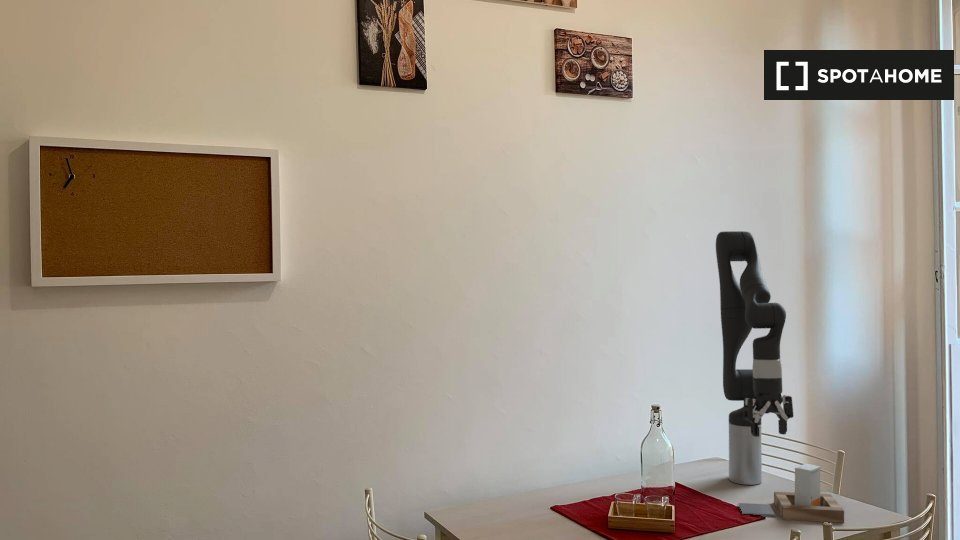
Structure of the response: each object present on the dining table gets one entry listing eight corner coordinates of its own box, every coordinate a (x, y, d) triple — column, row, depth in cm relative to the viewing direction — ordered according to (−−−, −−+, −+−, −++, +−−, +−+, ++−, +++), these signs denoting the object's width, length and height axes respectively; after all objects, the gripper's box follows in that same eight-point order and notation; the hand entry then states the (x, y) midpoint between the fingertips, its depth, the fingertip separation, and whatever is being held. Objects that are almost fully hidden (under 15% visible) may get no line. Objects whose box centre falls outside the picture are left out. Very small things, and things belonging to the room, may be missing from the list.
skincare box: (810, 516, 198) (810, 470, 197) (794, 512, 201) (794, 467, 200) (821, 511, 202) (821, 466, 201) (805, 507, 205) (805, 462, 205)
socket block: (774, 502, 209) (773, 491, 209) (830, 505, 206) (830, 494, 206) (783, 519, 196) (783, 507, 196) (844, 522, 193) (844, 510, 193)
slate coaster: (738, 505, 207) (738, 502, 207) (769, 506, 206) (769, 504, 206) (742, 515, 200) (742, 512, 200) (775, 516, 198) (775, 514, 198)
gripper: (780, 373, 216) (782, 431, 216) (736, 375, 212) (738, 434, 212) (798, 375, 209) (800, 435, 208) (753, 378, 205) (755, 439, 204)
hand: (769, 435), depth 210 cm, fingers open, 8 cm apart
